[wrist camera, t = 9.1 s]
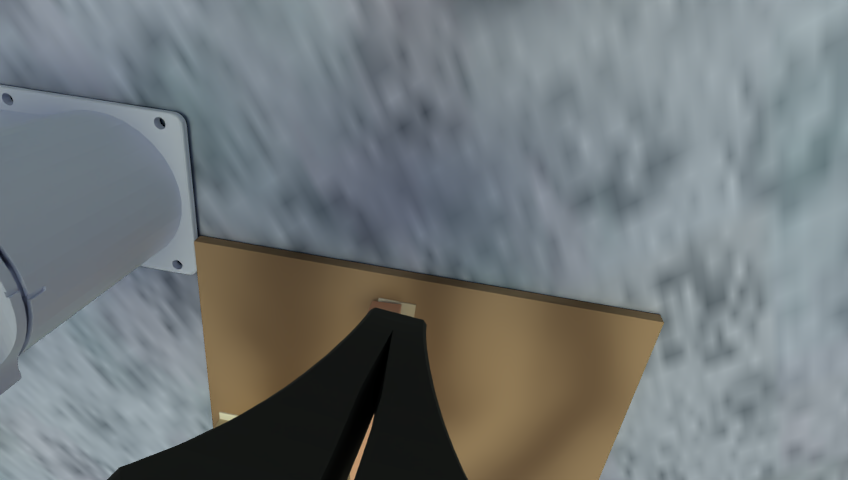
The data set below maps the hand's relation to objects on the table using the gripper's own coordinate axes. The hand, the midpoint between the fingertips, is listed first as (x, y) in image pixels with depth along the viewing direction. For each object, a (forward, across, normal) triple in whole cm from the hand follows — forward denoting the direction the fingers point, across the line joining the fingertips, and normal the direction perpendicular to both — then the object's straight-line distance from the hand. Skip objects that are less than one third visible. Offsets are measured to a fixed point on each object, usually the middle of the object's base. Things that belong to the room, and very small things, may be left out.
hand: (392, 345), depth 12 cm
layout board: (+10, -1, +13) cm, 17 cm away
